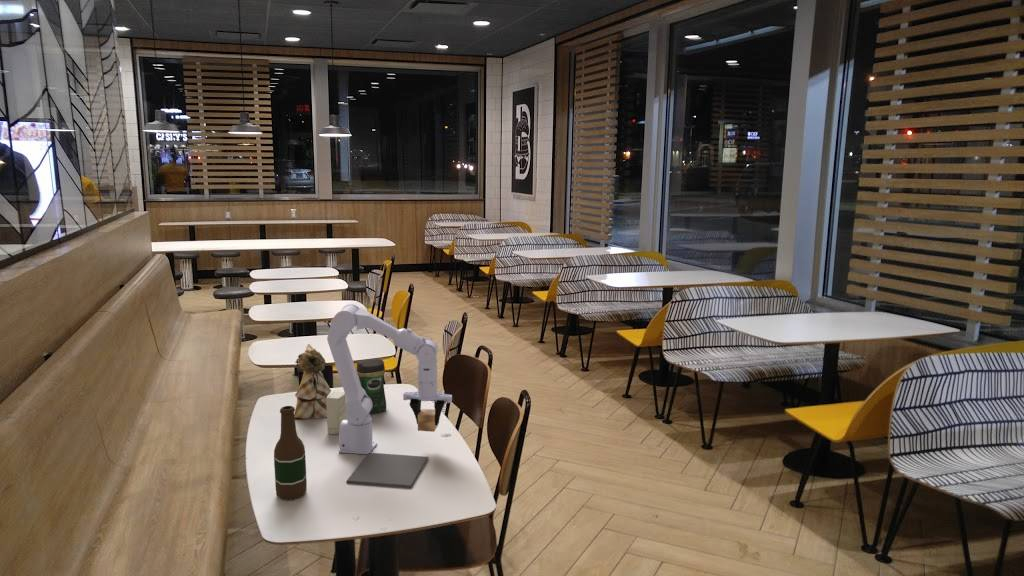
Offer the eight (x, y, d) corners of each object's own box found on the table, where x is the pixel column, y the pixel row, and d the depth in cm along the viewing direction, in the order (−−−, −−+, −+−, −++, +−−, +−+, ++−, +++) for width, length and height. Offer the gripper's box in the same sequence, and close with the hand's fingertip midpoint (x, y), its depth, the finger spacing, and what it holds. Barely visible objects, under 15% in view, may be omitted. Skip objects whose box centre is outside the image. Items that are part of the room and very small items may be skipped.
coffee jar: (382, 404, 244) (380, 354, 240) (388, 412, 237) (387, 360, 234) (355, 408, 240) (353, 358, 236) (361, 416, 233) (359, 364, 229)
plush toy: (348, 406, 239) (330, 338, 235) (328, 421, 226) (309, 350, 222) (313, 410, 243) (295, 344, 239) (292, 426, 230) (272, 356, 226)
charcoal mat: (346, 483, 185) (346, 480, 185) (368, 455, 203) (368, 452, 203) (410, 488, 183) (410, 485, 183) (427, 459, 201) (427, 456, 200)
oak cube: (417, 430, 204) (417, 414, 203) (422, 424, 209) (421, 408, 208) (434, 431, 203) (434, 415, 202) (438, 425, 208) (437, 409, 207)
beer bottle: (274, 489, 181) (270, 404, 176) (305, 484, 184) (301, 400, 180) (277, 503, 174) (272, 414, 169) (308, 498, 177) (304, 410, 173)
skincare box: (339, 435, 217) (338, 398, 215) (326, 433, 218) (325, 397, 216) (348, 427, 223) (347, 392, 221) (335, 426, 224) (334, 391, 222)
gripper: (400, 383, 200) (400, 426, 203) (448, 386, 199) (448, 430, 201) (406, 375, 207) (407, 418, 210) (453, 378, 205) (453, 421, 208)
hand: (427, 423), depth 206 cm, fingers closed on oak cube, 5 cm apart
